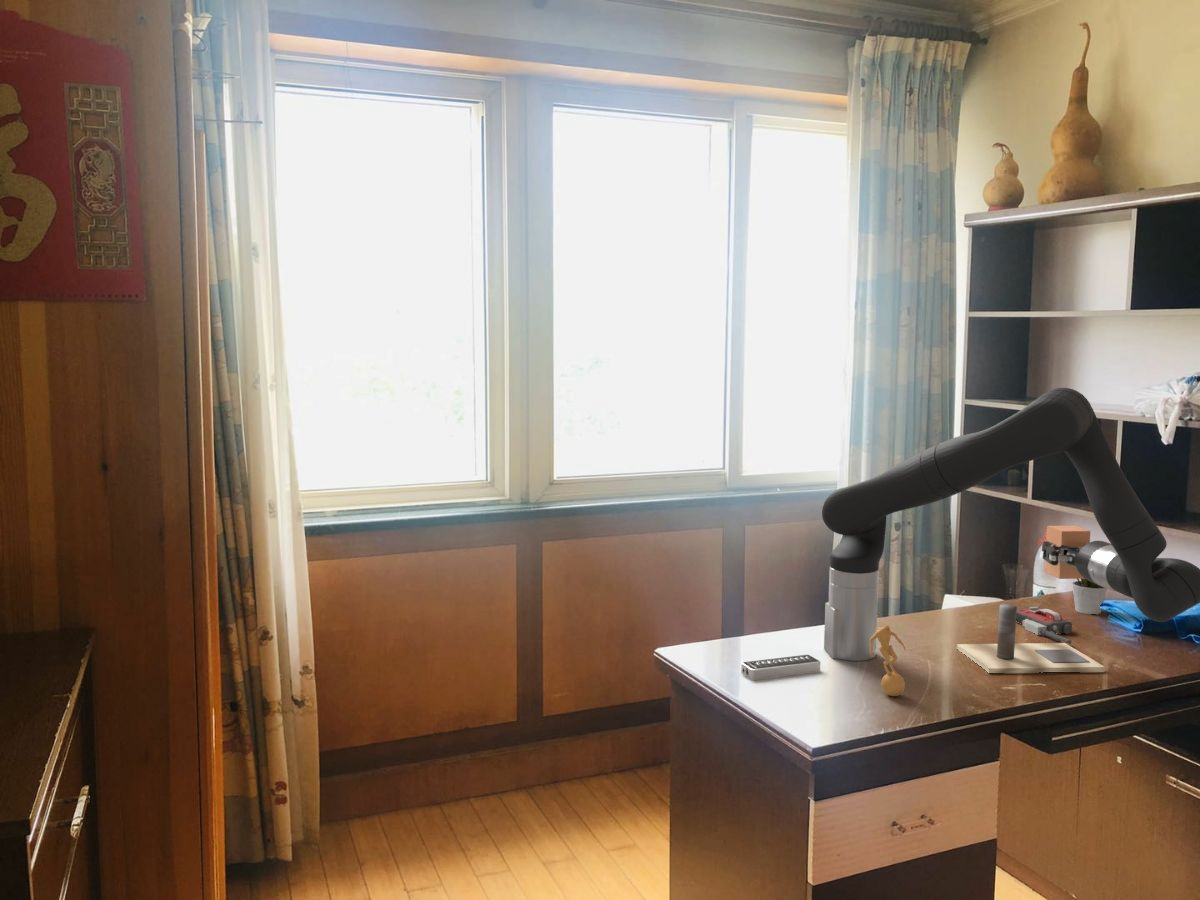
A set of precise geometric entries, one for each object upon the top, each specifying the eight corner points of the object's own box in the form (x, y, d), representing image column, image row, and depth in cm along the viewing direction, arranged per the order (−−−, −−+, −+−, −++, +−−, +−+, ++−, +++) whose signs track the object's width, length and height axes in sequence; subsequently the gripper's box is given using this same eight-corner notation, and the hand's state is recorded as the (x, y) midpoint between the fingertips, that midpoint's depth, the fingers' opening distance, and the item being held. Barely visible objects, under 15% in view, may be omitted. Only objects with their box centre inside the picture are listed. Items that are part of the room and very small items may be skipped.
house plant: (1144, 618, 210) (1149, 546, 208) (1097, 624, 205) (1102, 550, 203) (1091, 601, 223) (1096, 533, 221) (1046, 607, 218) (1050, 537, 216)
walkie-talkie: (998, 621, 209) (1065, 649, 190) (999, 602, 208) (1066, 628, 189) (1031, 618, 211) (1101, 646, 192) (1032, 599, 211) (1102, 625, 191)
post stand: (988, 673, 175) (991, 615, 173) (956, 649, 188) (959, 595, 187) (1104, 672, 175) (1108, 614, 174) (1064, 647, 189) (1067, 594, 188)
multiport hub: (821, 673, 176) (821, 661, 175) (751, 682, 171) (752, 669, 171) (808, 665, 180) (808, 653, 180) (740, 674, 175) (740, 662, 175)
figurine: (884, 703, 160) (887, 635, 159) (858, 692, 165) (860, 625, 164) (918, 694, 164) (921, 627, 163) (891, 683, 169) (894, 618, 168)
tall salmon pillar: (1059, 578, 176) (1061, 531, 175) (1044, 571, 181) (1047, 525, 180) (1087, 578, 176) (1090, 531, 175) (1072, 571, 182) (1074, 525, 181)
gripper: (1152, 545, 164) (1097, 526, 181) (1071, 545, 163) (1024, 527, 180) (1149, 587, 165) (1095, 565, 182) (1068, 588, 164) (1022, 565, 181)
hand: (1060, 546), depth 181 cm, fingers closed on tall salmon pillar, 5 cm apart
